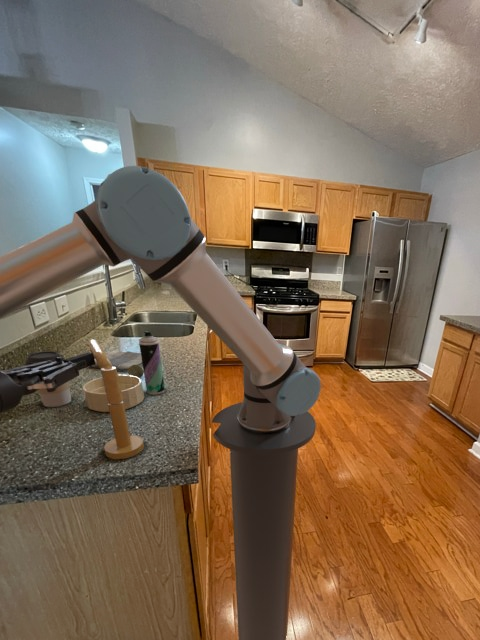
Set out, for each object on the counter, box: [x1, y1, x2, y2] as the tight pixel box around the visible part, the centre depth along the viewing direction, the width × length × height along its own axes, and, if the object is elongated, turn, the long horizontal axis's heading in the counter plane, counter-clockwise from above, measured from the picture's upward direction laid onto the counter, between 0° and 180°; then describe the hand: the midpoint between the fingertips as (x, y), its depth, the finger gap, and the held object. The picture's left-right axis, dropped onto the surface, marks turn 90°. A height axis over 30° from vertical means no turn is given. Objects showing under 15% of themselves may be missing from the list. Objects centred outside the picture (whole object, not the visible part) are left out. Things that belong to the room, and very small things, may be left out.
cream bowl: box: [82, 374, 145, 413], centre depth 95 cm, size 15×15×6 cm
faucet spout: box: [88, 339, 123, 404], centre depth 76 cm, size 29×3×8 cm, turn 37°
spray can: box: [138, 330, 166, 396], centre depth 101 cm, size 6×6×20 cm
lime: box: [127, 365, 144, 379], centre depth 114 cm, size 4×5×5 cm
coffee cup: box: [25, 350, 72, 408], centre depth 91 cm, size 9×9×15 cm
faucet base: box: [103, 401, 145, 460], centre depth 71 cm, size 8×8×12 cm
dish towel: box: [89, 349, 143, 372], centre depth 128 cm, size 19×18×3 cm
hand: (91, 358), depth 74 cm, fingers closed
